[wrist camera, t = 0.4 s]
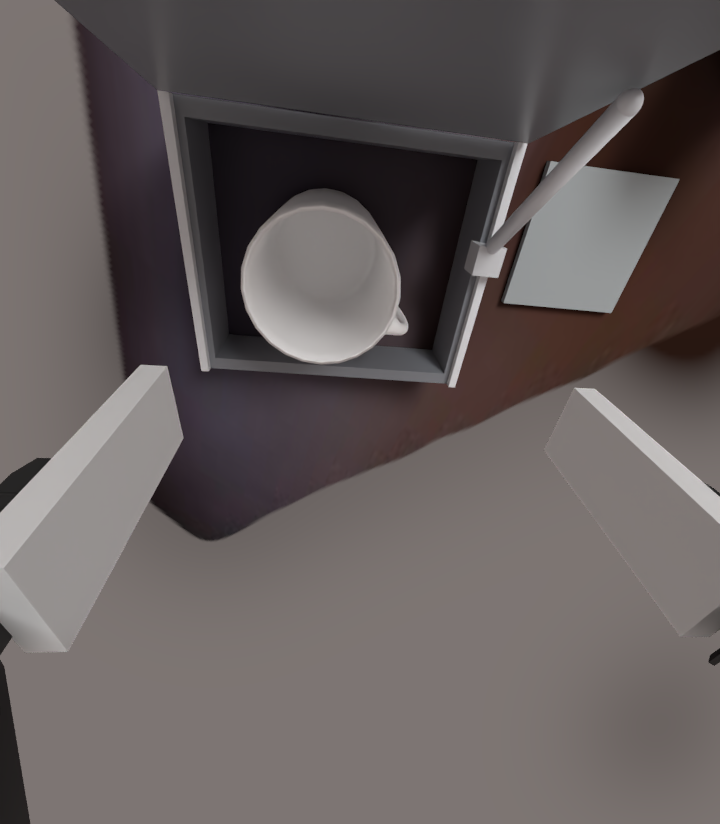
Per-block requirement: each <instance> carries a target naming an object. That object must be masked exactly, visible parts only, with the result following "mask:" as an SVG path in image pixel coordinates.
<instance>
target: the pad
mask: <svg viewBox="0 0 720 824" xmlns="http://www.w3.org/2000/svg"><path fill="white" fill-rule="evenodd" d="M558 163H559V162H553V161H547V163H546V166H545V169H544V172H543V175H542V178H541V182H542V181H543V180H544V179H545V177H546V176H547V175H548V174H549V173H550V172H551V171H552V170H553V169H554V167H555V166H556V165H557V164H558ZM679 180H680V179H675V178H668V177H661V176H653V175H646V174H639V173H632V172H625V171H617V170H610V169H603V168H596V167H589V166H583V167H582V168H581V169H580V170H579V171H578V172H577V173H576V174H575V175H574V176H573V177H572V178H571V179H570V180H569V181H568V182H567V183H566V184H565V185H564V186H563V187H562V188H561V189H560V190H559V191H558V192H557V193H556V194H555V195H554V196H553V197H552V198H551V199H550V200H549V201H548V202H547V203H546V204H545V205H544V206H543V207H542V208H541V209H540V210H539V211H538V212H537V213H536V214H535V215H534V216H533V217H532V218H531V219H530V220H529V221H528V222H527V224H526V227H525V230H524V233H523V236H522V239H521V242H520V245H519V248H518V251H517V254H516V257H515V260H514V263H513V266H512V269H511V272H510V275H509V278H508V282H507V285H506V288H505V291H504V294H503V297H502V300H501V301H502V302H503V303H508V304H519V305H530V306H540V307H551V308H562V309H573V310H584V311H595V312H605V313H612V311H613V309H614V307H615V305H616V303H617V301H618V299H619V297H620V295H621V293H622V291H623V289H624V287H625V285H626V283H627V281H628V279H629V277H630V276H631V274H632V272H633V270H634V268H635V266H636V264H637V262H638V260H639V258H640V256H641V254H642V252H643V250H644V248H645V246H646V244H647V242H648V240H649V238H650V237H651V235H652V233H653V231H654V229H655V227H656V225H657V223H658V221H659V219H660V217H661V215H662V213H663V211H664V209H665V207H666V205H667V203H668V201H669V199H670V197H671V196H672V194H673V192H674V190H675V188H676V186H677V184H678V182H679ZM541 182H540V183H541Z"/></svg>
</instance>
